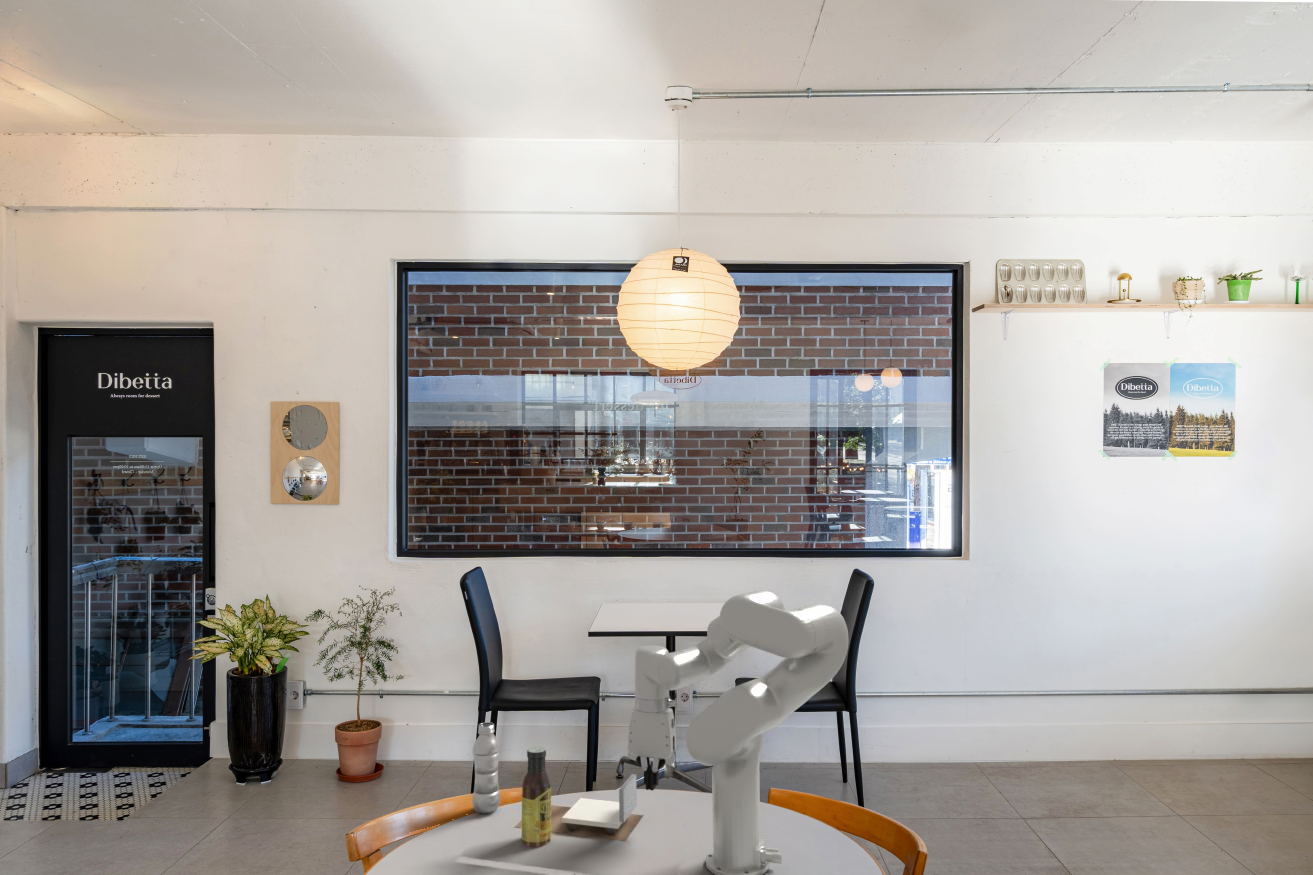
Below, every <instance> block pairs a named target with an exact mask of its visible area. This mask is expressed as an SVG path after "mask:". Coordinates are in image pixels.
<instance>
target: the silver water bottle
mask: <svg viewBox="0 0 1313 875" xmlns="http://www.w3.org/2000/svg"><path fill="white" fill-rule="evenodd" d="M494 733H495V723H493V722H487V721H485V722H481V723H479V724H478V731H477V734H478V737H477V738H476V739H475V741H474V743H473V746H472V753H473V755H472V756H473V763H474V785H473V786H474V788H473V793H472V808H473V809H474V811H475V812H477V813H478V814H488V813H493V812H494V811H495V812H496V810H498V808H499V806H500V804H501V792H500V787H499V775H498V774H499V771H498V770H499V761H500V760H499V759H500V754H501V753H500V752H501V751H500V750H501V744H500V741H499V740H498V738H497V737H496V736H495V734H494Z"/></svg>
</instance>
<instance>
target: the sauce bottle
mask: <svg viewBox="0 0 1313 875" xmlns="http://www.w3.org/2000/svg"><path fill="white" fill-rule="evenodd" d="M526 756H527V772H526V775H525V776H524V778H523V780H522V786H521V788H522V792H521V793H522V794H521V820H522V828H521V839H522V845H523V846H526V847H528V848H540V847H544V846H546V845H548V844H549V843H550V842H551V837H552V832H551V805H552V785H551V782H550V779H549V776H548V774H547V769H546V768H547V767H546V756H547V750H546V748H545V747H542V746H534V747H530V748H528V749H527V750H526Z"/></svg>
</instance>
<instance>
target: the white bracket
mask: <svg viewBox="0 0 1313 875" xmlns="http://www.w3.org/2000/svg"><path fill="white" fill-rule="evenodd" d="M618 793H619V794H618V797H619V798H618V801H613V800H604V799H603V800H602V799H601V800H600V799H593V798H584V797H580V798H579V799H578V801H576V803H574V804H573V806H572V808H571V809H570V810H569V811H568V812H567V813H566V814H565V815H564V816H563V817H562V822H563V823H566V827H567V828H568V829H569V830H574V829H575V828H576V827H577V826H578V824H581V825H589V826H598V827H605V832H606V833H607V834H608V835H613V834H614V833H615V831H616V830H617V829H618V828H619V827H620V826H621V824H622V823H624V822H625V821H626V819H627V818H628V817H629V815H630V814H633V811H634V810H635V809H636V807H637V805H638V804H637V802H638V801H637V774H634V773H631V774H630V775H629V776H628V778H627V779H626V780H625V781H624V783H622V785H621V786H620V787H619V789H618Z"/></svg>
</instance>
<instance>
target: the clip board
mask: <svg viewBox="0 0 1313 875" xmlns="http://www.w3.org/2000/svg"><path fill="white" fill-rule="evenodd" d="M572 807H573V806H572ZM572 807H570V806H563V805H562V806H559V805H554V804H553V805H552V804H551V833H557V834H567V835H574V836H583V837H591V838H598V839H599V838H600V839H608V840H617V841H625V842H626V841H627V839H628V838H629V836H630V835H631V834H632V833H633V831H634V829H635V828H636V827H637V825H638V824H639V823H640V822H641V820H642V818H643V817H644V816H645V815H644V814H643V815H642V814H635V813H634V814H633V813H631V814H630V815H629V817H628V818H627V819H626V821H625V822H624V823H622V824H621V826H620V827H619V828H618V829H617V830H616V831H615V833H614V834H613V835H608V834H607V833H606V832H605V827H598V826H589V825H581V824H578V826H577V827H576V828H575V829H574V830H569V829H568V828H567V827H566V823H563V822H562V817H563V816H564V815H565V814H566V813H567V812H568V811H569V810H570V809H571V808H572ZM514 828H516V829H522V819H521V820H520V821H519V822H518V823H517V824H515V826H514Z"/></svg>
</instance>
